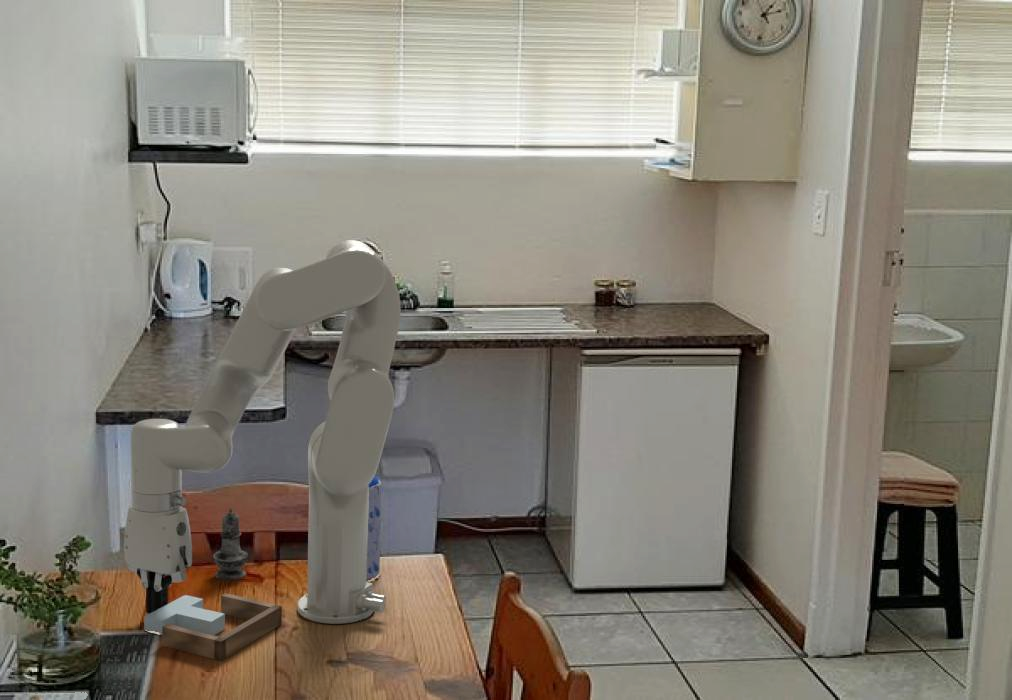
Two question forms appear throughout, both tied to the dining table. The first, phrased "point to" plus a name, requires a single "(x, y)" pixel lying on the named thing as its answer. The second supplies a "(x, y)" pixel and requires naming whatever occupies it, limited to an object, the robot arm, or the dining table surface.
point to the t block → (186, 617)
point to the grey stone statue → (230, 550)
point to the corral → (219, 648)
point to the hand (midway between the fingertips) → (156, 611)
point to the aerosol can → (374, 528)
